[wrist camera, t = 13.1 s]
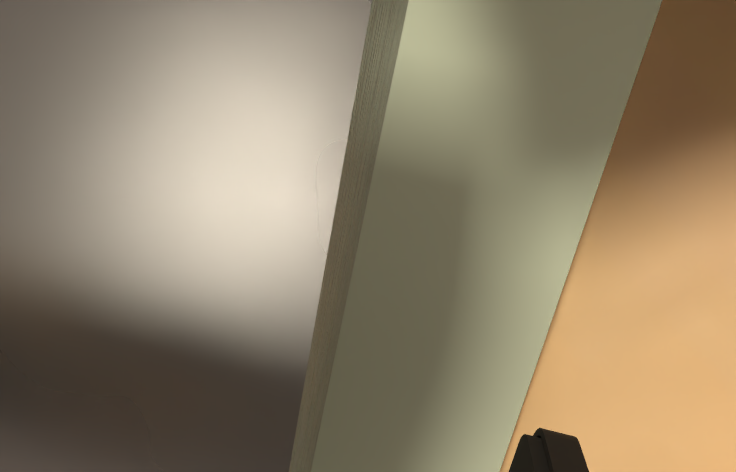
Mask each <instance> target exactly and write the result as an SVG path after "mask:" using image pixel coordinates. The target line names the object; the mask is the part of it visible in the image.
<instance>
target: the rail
mask: <svg viewBox="0 0 736 472" xmlns="http://www.w3.org/2000/svg"><path fill="white" fill-rule="evenodd" d="M408 2H409V0H0V472H311V469H312V464H313V459H314V454H315V450H316V445H317V440H318V435H319V430H320V426H321V421H322V416H323V411H324V406H325V401H326V397H327V392H328V387H329V382H330V377H331V373H332V368H333V363H334V358H335V353H336V348H337V344H338V339H339V334H340V329H341V324H342V320H343V315H344V310H345V305H346V300H347V295H348V291H349V286H350V281H351V276H352V271H353V267H354V262H355V257H356V252H357V247H358V242H359V238H360V233H361V228H362V223H363V218H364V214H365V209H366V204H367V199H368V194H369V189H370V185H371V180H372V175H373V170H374V165H375V161H376V156H377V151H378V146H379V141H380V136H381V132H382V127H383V122H384V117H385V112H386V108H387V103H388V98H389V93H390V88H391V83H392V79H393V74H394V69H395V64H396V59H397V55H398V50H399V45H400V40H401V35H402V31H403V26H404V21H405V16H406V11H407V6H408Z"/></svg>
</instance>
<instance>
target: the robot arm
mask: <svg viewBox="0 0 736 472" xmlns="http://www.w3.org/2000/svg"><path fill="white" fill-rule="evenodd" d="M509 472H589V470H588V467H587V464H586V461H585V458H584V455H583V453H582V450H581V447H580V444H579V441H578V439H577V438H576V437H574V436H570V435H566V434H562V433H558V432H554V431H550V430H546V429H542V428H539V429H537V430H536V432H535V433H534V435H533V436H530V435H526V434H524V435H523V436H522V437H521V439H520V441H519V444H518V447H517V450H516V453H515V455H514V458H513V461H512V464H511V467H510V470H509Z"/></svg>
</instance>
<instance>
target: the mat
mask: <svg viewBox="0 0 736 472" xmlns="http://www.w3.org/2000/svg"><path fill="white" fill-rule="evenodd" d="M661 3H662V0H409V2H408V6H407V11H406V16H405V21H404V26H403V31H402V35H401V40H400V45H399V50H398V55H397V59H396V64H395V69H394V74H393V79H392V83H391V88H390V93H389V98H388V103H387V108H386V112H385V117H384V122H383V127H382V132H381V136H380V141H379V146H378V151H377V156H376V161H375V165H374V170H373V175H372V180H371V185H370V189H369V194H368V199H367V204H366V209H365V214H364V218H363V223H362V228H361V233H360V238H359V242H358V247H357V252H356V257H355V262H354V267H353V271H352V276H351V281H350V286H349V291H348V295H347V300H346V305H345V310H344V315H343V320H342V324H341V329H340V334H339V339H338V344H337V348H336V353H335V358H334V363H333V368H332V373H331V377H330V382H329V387H328V392H327V397H326V401H325V406H324V411H323V416H322V421H321V426H320V430H319V435H318V440H317V445H316V450H315V454H314V459H313V464H312V469H311V472H500V469H501V466H502V463H503V460H504V457H505V454H506V451H507V449H508V446H509V443H510V440H511V437H512V434H513V431H514V428H515V425H516V422H517V420H518V417H519V414H520V411H521V408H522V405H523V402H524V399H525V396H526V394H527V391H528V388H529V385H530V382H531V379H532V376H533V373H534V370H535V367H536V365H537V362H538V359H539V356H540V353H541V350H542V347H543V344H544V341H545V339H546V336H547V333H548V330H549V327H550V324H551V321H552V318H553V315H554V313H555V310H556V307H557V304H558V301H559V298H560V295H561V292H562V289H563V286H564V284H565V281H566V278H567V275H568V272H569V269H570V266H571V263H572V260H573V258H574V255H575V252H576V249H577V246H578V243H579V240H580V237H581V234H582V231H583V229H584V226H585V223H586V220H587V217H588V214H589V211H590V208H591V205H592V203H593V200H594V197H595V194H596V191H597V188H598V185H599V182H600V179H601V176H602V174H603V171H604V168H605V165H606V162H607V159H608V156H609V153H610V150H611V148H612V145H613V142H614V139H615V136H616V133H617V130H618V127H619V124H620V122H621V119H622V116H623V113H624V110H625V107H626V104H627V101H628V98H629V95H630V93H631V90H632V87H633V84H634V81H635V78H636V75H637V72H638V69H639V67H640V64H641V61H642V58H643V55H644V52H645V49H646V46H647V43H648V40H649V38H650V35H651V32H652V29H653V26H654V23H655V20H656V17H657V14H658V12H659V9H660V6H661Z"/></svg>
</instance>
